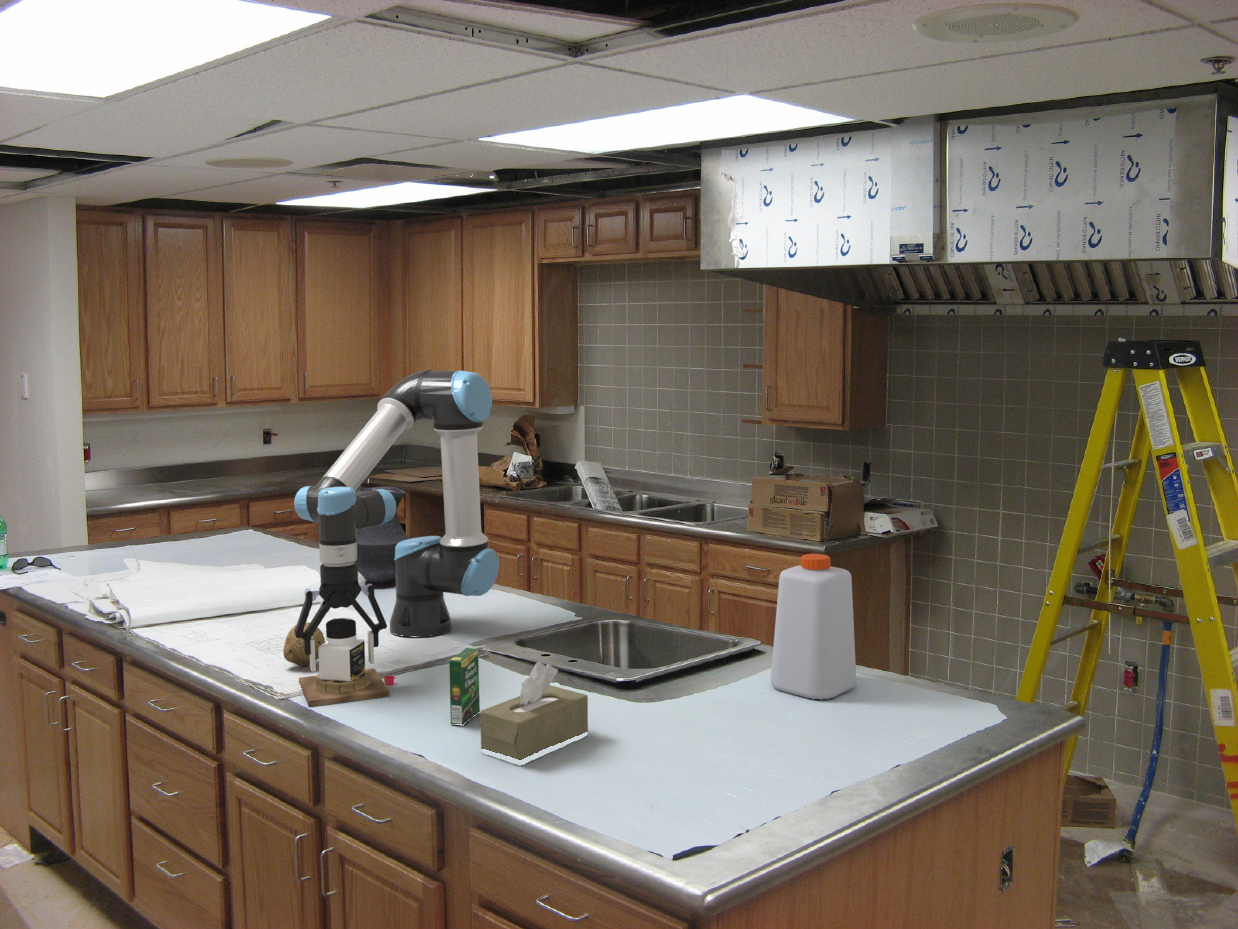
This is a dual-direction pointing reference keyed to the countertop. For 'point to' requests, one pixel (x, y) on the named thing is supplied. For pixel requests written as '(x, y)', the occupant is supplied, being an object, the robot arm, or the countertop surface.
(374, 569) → the pitcher
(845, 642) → the plastic bottle
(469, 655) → the coffee box
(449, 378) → the robot arm
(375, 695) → the collar board
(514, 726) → the tissue box
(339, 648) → the medicine bottle
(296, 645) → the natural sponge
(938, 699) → the countertop surface
